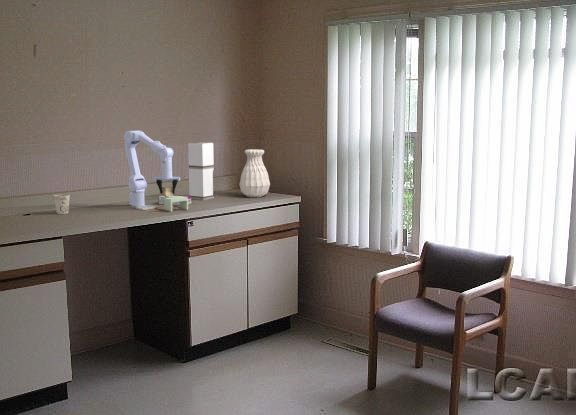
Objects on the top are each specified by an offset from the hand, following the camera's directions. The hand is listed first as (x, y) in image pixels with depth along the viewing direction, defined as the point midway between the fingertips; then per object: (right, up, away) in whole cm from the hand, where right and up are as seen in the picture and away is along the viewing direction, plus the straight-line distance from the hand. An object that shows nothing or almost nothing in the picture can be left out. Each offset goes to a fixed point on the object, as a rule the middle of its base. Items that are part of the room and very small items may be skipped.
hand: (167, 193), depth 370 cm
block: (0, -1, 0) cm, 2 cm away
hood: (+6, -9, -5) cm, 12 cm away
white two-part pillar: (+13, -2, +46) cm, 48 cm away
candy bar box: (+9, -4, +17) cm, 20 cm away
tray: (-12, -9, 0) cm, 15 cm away
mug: (-57, -11, -8) cm, 58 cm away
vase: (+47, -1, +55) cm, 72 cm away
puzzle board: (-4, -10, 0) cm, 10 cm away
